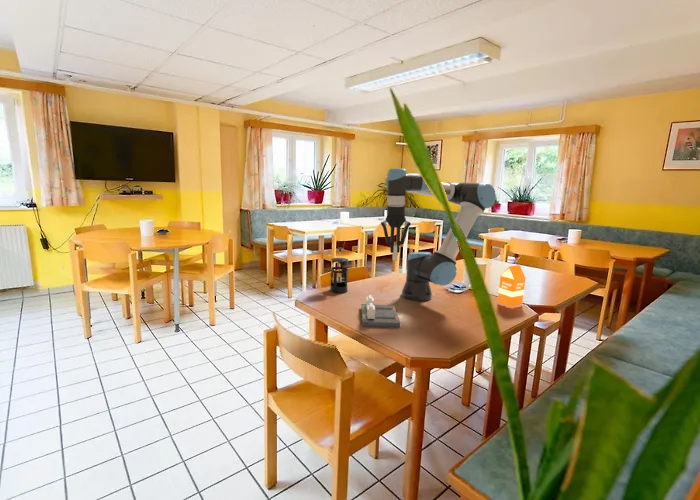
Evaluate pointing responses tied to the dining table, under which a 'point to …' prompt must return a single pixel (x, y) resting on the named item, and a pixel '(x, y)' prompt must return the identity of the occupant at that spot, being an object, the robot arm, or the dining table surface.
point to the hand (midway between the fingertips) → (394, 259)
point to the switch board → (381, 316)
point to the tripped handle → (371, 311)
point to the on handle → (369, 300)
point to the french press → (338, 286)
